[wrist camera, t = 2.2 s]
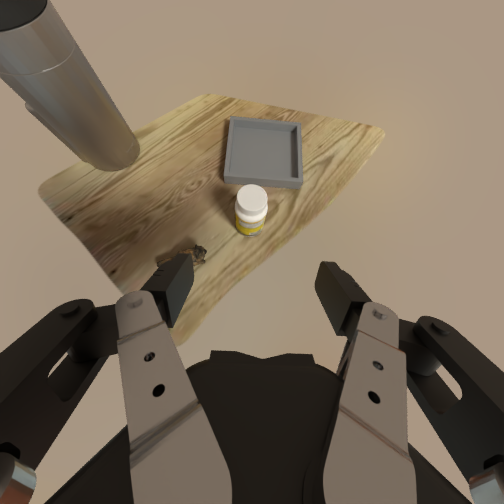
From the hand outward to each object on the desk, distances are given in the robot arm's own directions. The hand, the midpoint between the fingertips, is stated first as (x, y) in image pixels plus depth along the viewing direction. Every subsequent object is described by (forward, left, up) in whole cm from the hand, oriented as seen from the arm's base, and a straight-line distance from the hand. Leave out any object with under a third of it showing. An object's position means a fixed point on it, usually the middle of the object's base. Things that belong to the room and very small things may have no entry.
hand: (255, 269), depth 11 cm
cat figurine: (-10, +4, -18) cm, 21 cm away
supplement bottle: (0, +11, -18) cm, 21 cm away
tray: (+2, +26, -17) cm, 32 cm away
